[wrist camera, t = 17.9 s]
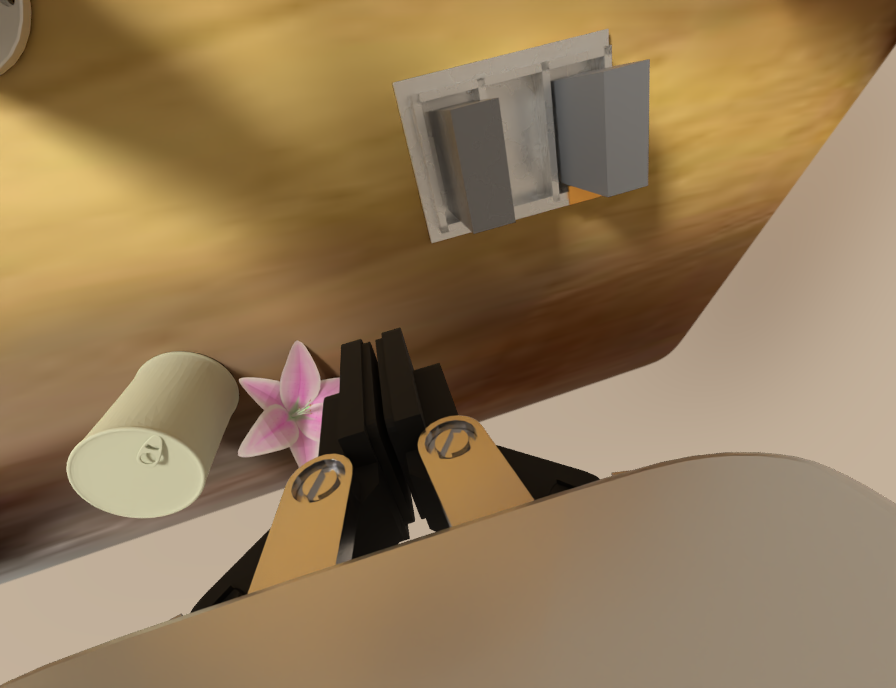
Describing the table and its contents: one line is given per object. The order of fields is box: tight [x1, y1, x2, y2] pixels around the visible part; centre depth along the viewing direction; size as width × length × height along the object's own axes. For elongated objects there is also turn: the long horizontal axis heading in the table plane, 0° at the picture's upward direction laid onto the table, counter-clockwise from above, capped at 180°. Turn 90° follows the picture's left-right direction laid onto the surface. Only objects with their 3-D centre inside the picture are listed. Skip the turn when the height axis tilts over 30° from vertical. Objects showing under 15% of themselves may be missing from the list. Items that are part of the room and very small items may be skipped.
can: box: [67, 351, 239, 518], centre depth 37 cm, size 9×9×12 cm
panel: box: [550, 59, 650, 197], centre depth 33 cm, size 8×3×9 cm, turn 14°
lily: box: [238, 340, 340, 468], centre depth 42 cm, size 12×12×10 cm
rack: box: [392, 29, 612, 243], centre depth 33 cm, size 13×18×10 cm
